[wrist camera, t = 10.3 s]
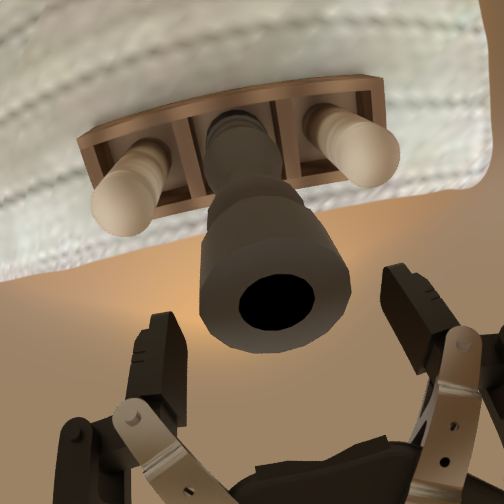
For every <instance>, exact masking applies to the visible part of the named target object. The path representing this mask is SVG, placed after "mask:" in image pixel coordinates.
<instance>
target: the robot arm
mask: <svg viewBox="0 0 504 504" xmlns="http://www.w3.org/2000/svg"><path fill="white" fill-rule="evenodd" d="M380 302H381V307H382V310H383V312H384V314H385V316H386V318H387V320H388V321H389V323H390V325H391V327H392V329H393V330H394V332H395V334H396V336H397V338H398V340H399V342H400V344H401V345H402V347H403V349H404V351H405V353H406V355H407V357H408V359H409V360H410V363H411V365H412V366H413V369H414V371H415V372H416V375H419V374H422V373H425V372H427V374H428V376H429V379H428V382H427V386H426V390H425V393H424V397H423V401H422V405H421V408H420V411H419V415H418V419H417V422H416V424H415V427H414V429H413V431H412V434H411V436H410V439H409V441H408V443H406V442H399V441H389V442H388V440H387V437H386V435H383V436H380V437H377V438H374V439H371V440H368V441H365V442H362V443H358V444H355V445H353V446H352V447H350V448H348V449H346V450H344V451H342V452H341V453H339V454H337V455H335V456H333V457H331V458H329V459H327V460H324V461H284V462H278V463H273V464H267V465H260V466H255V470H256V473H255V474H252V475H250V476H248V477H246V478H244V479H243V480H241V481H240V482H238V483H237V484H236V485H234V487H232V488H231V489H230V490H227V489H226V488H225V487H224V486H223V485H222V484H221V483H220V482H219V481H218V480H217V479H216V478H215V477H214V476H213V475H212V474H211V473H210V472H209V471H208V470H207V469H206V468H205V467H204V466H203V465H202V464H201V463H200V462H199V461H198V460H197V459H196V458H195V457H194V456H193V455H192V453H191V452H190V451H189V450H188V449H187V448H186V447H185V446H184V445H183V444H182V442H181V441H180V440H179V439H178V438H177V427H185V426H186V425H187V424H186V422H187V416H186V415H187V414H186V413H187V410H186V409H187V358H188V350H187V344H186V340H185V338H184V335H183V333H182V331H181V329H180V327H179V325H178V323H177V320H176V318H175V316H174V314H173V313H172V312H171V311H170V312H163V313H157V314H152V316H151V319H150V325H149V329H145V330H141V332H140V334H139V336H138V337H137V338H136V340H135V343H134V349H133V355H132V360H131V363H132V364H131V366H130V372H129V378H128V385H127V391H126V397H125V400H124V401H123V402H121V403H120V404H119V405H118V406H117V407H116V409H115V411H114V412H113V415H112V416H110V417H108V418H105V419H102V420H99V421H96V422H93V423H90V422H89V421H88V420H86V419H85V418H81V417H76V418H72V419H70V420H69V421H67V422H66V423H65V425H64V426H63V428H62V430H61V433H60V439H59V445H58V453H57V461H56V470H55V480H54V492H53V504H131V468H134V467H137V466H140V465H141V467H142V468H143V470H144V472H143V474H144V476H145V478H146V479H147V481H148V482H149V484H150V485H151V486H152V487H153V489H154V490H155V491H156V493H157V494H158V495H159V496H160V497H161V499H162V500H163V501H164V502H165V503H166V504H504V491H503V490H501V489H499V488H497V487H495V486H493V485H491V484H489V483H487V482H485V481H483V480H481V479H479V478H477V477H475V476H473V475H471V474H469V473H467V471H468V467H469V463H470V459H471V455H472V451H473V446H474V442H475V437H476V432H477V426H478V421H479V415H480V408H481V402H482V398H483V400H484V403H485V405H486V407H487V409H488V411H489V413H490V416H491V418H492V420H493V423H494V425H495V428H496V430H497V432H498V434H499V437H500V439H501V442H502V445H503V447H504V326H502V328H501V330H500V332H499V334H487V335H479V334H478V333H477V332H476V331H475V330H474V329H472V328H470V327H467V326H461V325H460V324H459V322H458V321H457V319H456V318H455V316H454V315H453V314H452V312H451V311H450V310H449V308H448V307H447V305H446V304H445V302H444V301H443V300H442V298H440V296H439V294H438V293H437V292H436V291H435V290H434V288H433V286H432V285H431V284H430V282H429V281H428V280H427V279H426V278H424V277H423V276H421V275H420V274H418V273H413V274H412V273H411V272H410V271H409V269H408V268H407V267H406V265H405V264H404V263H399V264H395V265H390V266H387V267H384V269H383V274H382V284H381V293H380ZM478 390H479V392H480V393H479V392H478Z"/></svg>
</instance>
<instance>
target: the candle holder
mask: <svg viewBox="0 0 504 504" xmlns="http://www.w3.org/2000/svg"><path fill="white" fill-rule="evenodd" d="M205 150H206V153H205V156H204V174H205V177H206V180H207V182H208V185H209V187H210V188H211V189H212V191H213V192H214V193H215V195H216V196H215V198H214V199H213V201H212V203H211V205H210V207H209V209H208V220H207V231H208V232H207V234H206V236H205V237H204V239H203V241H202V245H201V267H200V299H199V300H200V302H199V303H200V304H199V305H200V306H199V312H200V313H199V314H200V317H201V318H202V320H203V322H204V324H205V325H206V327H207V329H208V330H209V332H210V334H211V335H213V336H214V337H216V338H217V339H218V340H220V341H221V342H223V343H224V344H226V345H227V346H229V347H231V348H235V349H239V350H243V351H246V352H250V353H281V352H285V351H288V350H292V349H295V348H299V347H302V346H305V345H307V344H309V343H310V342H312V341H314V340H315V339H317V338H319V337H320V336H322V335H324V334H325V333H327V332H328V331H329V330H330V329H331V328H332V326H333V325H334V324H335V323H336V322H337V321H338V320H339V319H340V317H341V316H342V315H343V314H344V311H345V309H346V306H347V303H348V301H349V298H350V295H351V284H350V275H349V270H348V268H347V266H346V264H345V263H344V261H343V259H342V257H341V256H340V254H339V252H338V250H337V248H336V247H335V245H334V244H333V241H332V240H331V238H330V236H329V235H328V233H327V231H326V229H325V228H324V226H323V225H322V224H321V222H320V221H319V220H318V219H317V217H316V216H315V215H314V213H313V212H312V211H311V210H310V209H308V208H306V207H305V206H304V202H303V200H302V198H301V197H300V196H299V194H298V193H297V192H296V191H295V189H294V188H293V187H292V186H291V185H290V184H289V183H287V182H285V181H283V180H281V172H282V164H283V161H282V158H281V154H280V150H279V148H278V146H277V145H276V144H275V143H274V141H273V140H272V139H271V138H270V137H269V135H268V132H267V130H266V128H265V127H264V126H263V124H262V123H261V122H260V121H259V119H258V118H257V117H256V116H255V115H253V114H251V113H249V112H247V111H245V110H234V109H233V110H229V111H226V112H223V113H221V114H220V115H218V116H217V117H216V118H215V119H214V120H212V122H211V124H210V126H209V128H208V130H207V135H206V148H205Z"/></svg>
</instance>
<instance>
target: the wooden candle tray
mask: <svg viewBox="0 0 504 504" xmlns="http://www.w3.org/2000/svg"><path fill="white" fill-rule="evenodd" d="M233 109H234V110H245V111H247V112H249V113H251V114H253V115H255V116H256V117H257V118H258V119H259V121H260V122H261V123H262V124H263V126H264V127H265V128H266V130H267V132H268V135H269V137H270V138H271V139H272V140H273V141H274V143H275V144H276V145H277V146H278V148H279V150H280V154H281V158H282V161H283V164H282V172H281V180H283V181H285V182H287V183H289V184H290V185H291V186H292V187H293V188H294V189H299V188H305V187H311V186H316V185H322V184H328V183H334V182H340V181H346V180H350V181H351V182H352V183H353V184H355V185H357V186H359V187H363V188H373V187H377V186H380V185H382V184H384V183H385V182H387V181H388V180H389V179H390V178H391V177H392V176H393V174H394V173H395V171H396V169H397V167H398V164H399V160H400V148H399V144H398V142H397V140H396V138H395V137H394V135H393V134H392V133H391V132H390V131H388V130H387V129H386V109H385V94H384V81H383V78H380V77H374V76H369V75H363V74H360V75H342V76H328V77H317V78H307V79H298V80H290V81H283V82H275V83H269V84H262V85H256V86H250V87H244V88H239V89H233V90H228V91H223V92H218V93H214V94H209V95H204V96H200V97H196V98H192V99H187V100H183V101H179V102H175V103H172V104H168V105H164V106H161V107H157V108H153V109H150V110H147V111H143V112H140V113H137V114H133V115H130V116H127V117H124V118H121V119H118V120H115V121H112V122H109V123H106V124H103V125H100V126H97V127H95V128H93V129H91V130H90V131H88V132H86V133H85V134H83V135H82V136H80V137H79V138H77V142H78V145H79V148H80V151H81V154H82V157H83V160H84V163H85V166H86V169H87V172H88V174H89V177H90V180H91V183H92V185H93V188H94V192H93V194H92V198H91V210H92V214H93V217H94V219H95V220H96V222H97V223H98V224H99V226H100V227H101V228H102V229H104V230H105V231H107V232H108V233H110V234H112V235H115V236H120V237H130V236H134V235H137V234H139V233H141V232H142V231H144V230H145V229H146V228H147V227H148V225H149V224H150V222H151V220H152V219H156V218H161V217H165V216H169V215H173V214H178V213H182V212H187V211H191V210H195V209H200V208H205V207H209V206H210V205H211V203H212V201H213V199H214V198H215V196H216V195H215V193H214V192H213V191H212V189H211V188H210V187H209V185H208V182H207V180H206V177H205V174H204V156H205V153H206V150H205V148H206V135H207V130H208V128H209V126H210V124H211V122H212V120H214V119H215V118H216V117H217V116H218V115H220V114H221V113H223V112H226V111H229V110H233Z"/></svg>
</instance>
